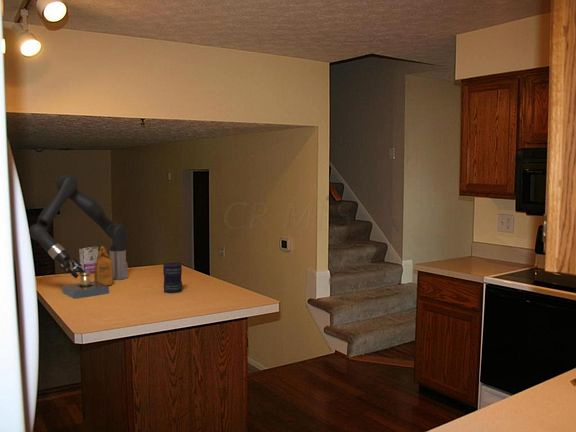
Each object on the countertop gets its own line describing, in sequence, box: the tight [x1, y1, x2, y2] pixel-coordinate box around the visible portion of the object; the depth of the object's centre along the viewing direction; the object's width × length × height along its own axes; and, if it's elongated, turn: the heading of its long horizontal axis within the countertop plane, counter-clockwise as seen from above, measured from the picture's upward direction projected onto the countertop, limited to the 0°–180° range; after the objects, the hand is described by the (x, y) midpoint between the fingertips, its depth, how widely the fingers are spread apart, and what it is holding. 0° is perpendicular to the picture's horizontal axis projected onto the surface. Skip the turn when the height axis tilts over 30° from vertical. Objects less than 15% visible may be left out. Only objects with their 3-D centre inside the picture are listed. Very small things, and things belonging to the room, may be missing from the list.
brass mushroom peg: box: [78, 272, 92, 288], centre depth 283 cm, size 6×6×10 cm
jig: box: [61, 280, 110, 300], centre depth 283 cm, size 18×18×4 cm
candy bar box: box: [78, 246, 100, 274], centre depth 341 cm, size 11×5×16 cm, turn 143°
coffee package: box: [93, 245, 113, 286], centre depth 304 cm, size 10×12×22 cm
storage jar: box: [162, 262, 183, 294], centre depth 287 cm, size 10×10×15 cm
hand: (80, 275), depth 283 cm, fingers open, 8 cm apart
